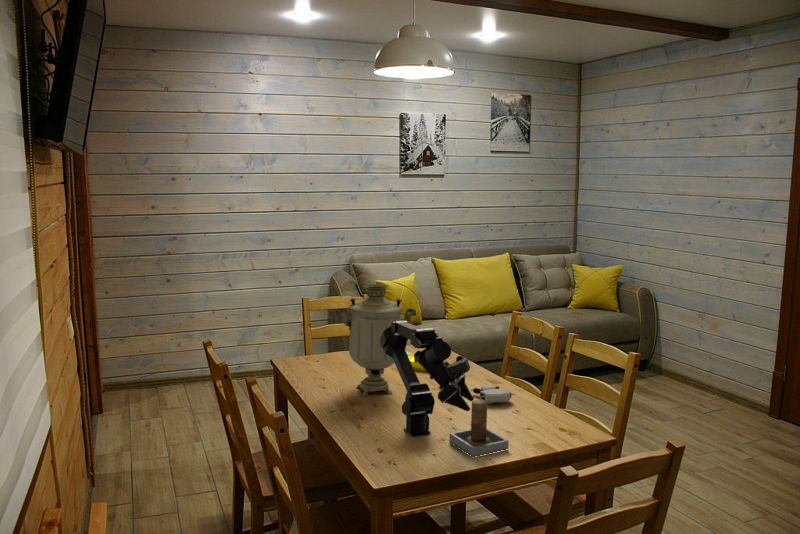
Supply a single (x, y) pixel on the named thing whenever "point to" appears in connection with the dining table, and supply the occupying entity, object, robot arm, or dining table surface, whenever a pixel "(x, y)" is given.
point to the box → (495, 445)
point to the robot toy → (493, 394)
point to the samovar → (372, 334)
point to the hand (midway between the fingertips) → (471, 405)
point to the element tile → (415, 365)
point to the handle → (478, 424)
